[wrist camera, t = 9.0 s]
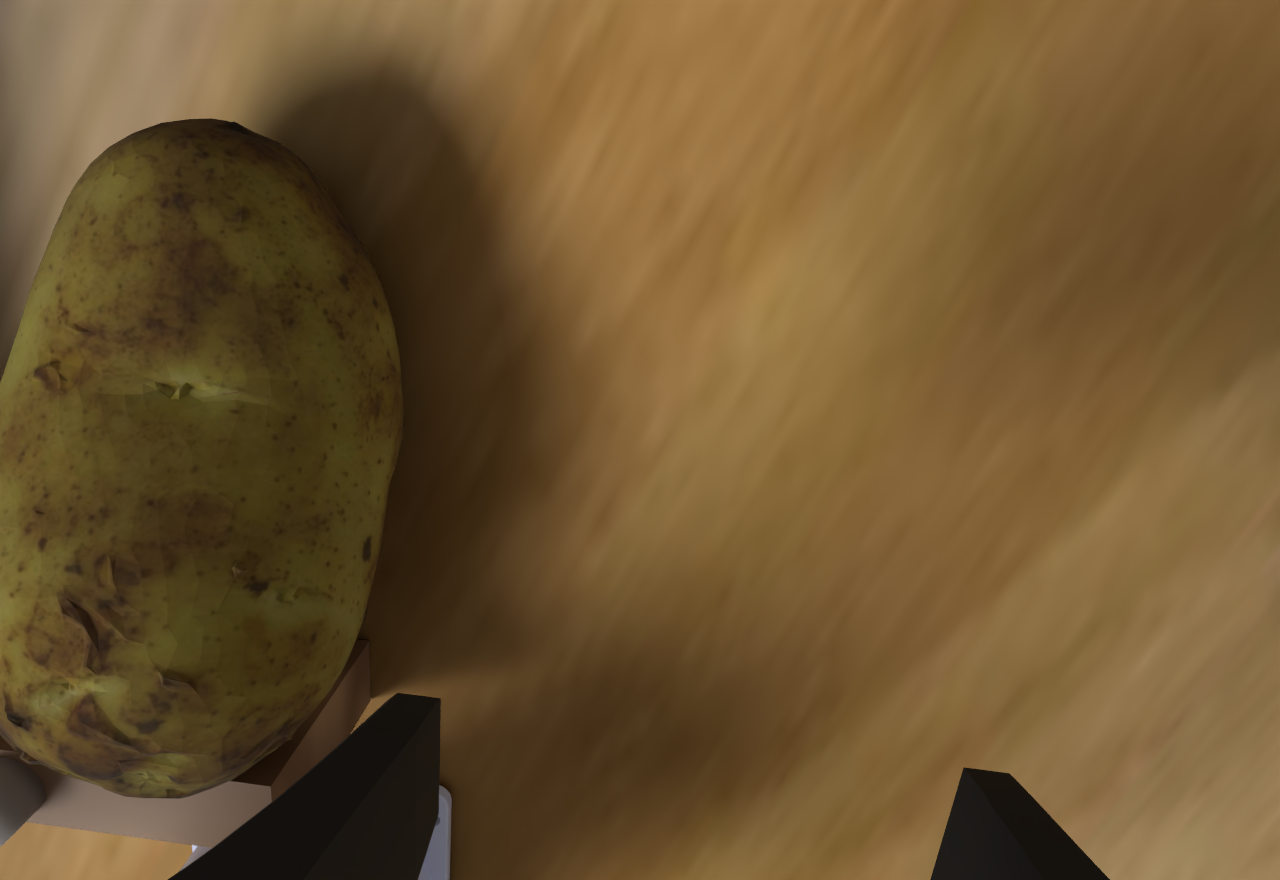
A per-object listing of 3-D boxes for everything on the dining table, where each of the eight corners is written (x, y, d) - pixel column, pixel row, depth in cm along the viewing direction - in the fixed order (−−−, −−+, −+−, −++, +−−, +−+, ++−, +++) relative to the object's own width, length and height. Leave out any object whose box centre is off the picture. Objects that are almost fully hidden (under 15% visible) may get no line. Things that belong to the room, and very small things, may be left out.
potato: (549, 250, 19) (434, 320, 11) (371, 669, 23) (204, 922, 15) (207, 82, 18) (-158, 35, 10) (92, 545, 22) (-222, 745, 15)
